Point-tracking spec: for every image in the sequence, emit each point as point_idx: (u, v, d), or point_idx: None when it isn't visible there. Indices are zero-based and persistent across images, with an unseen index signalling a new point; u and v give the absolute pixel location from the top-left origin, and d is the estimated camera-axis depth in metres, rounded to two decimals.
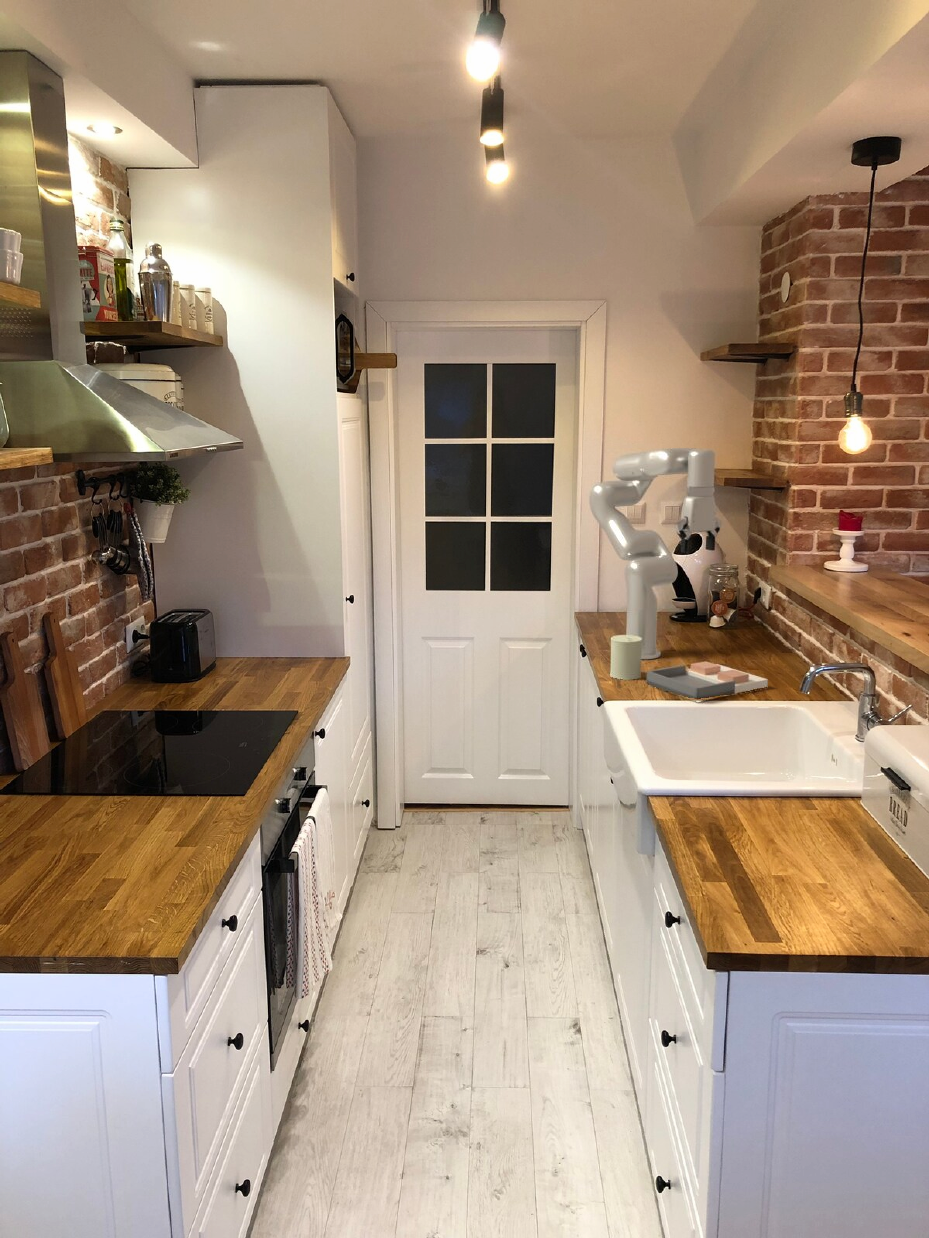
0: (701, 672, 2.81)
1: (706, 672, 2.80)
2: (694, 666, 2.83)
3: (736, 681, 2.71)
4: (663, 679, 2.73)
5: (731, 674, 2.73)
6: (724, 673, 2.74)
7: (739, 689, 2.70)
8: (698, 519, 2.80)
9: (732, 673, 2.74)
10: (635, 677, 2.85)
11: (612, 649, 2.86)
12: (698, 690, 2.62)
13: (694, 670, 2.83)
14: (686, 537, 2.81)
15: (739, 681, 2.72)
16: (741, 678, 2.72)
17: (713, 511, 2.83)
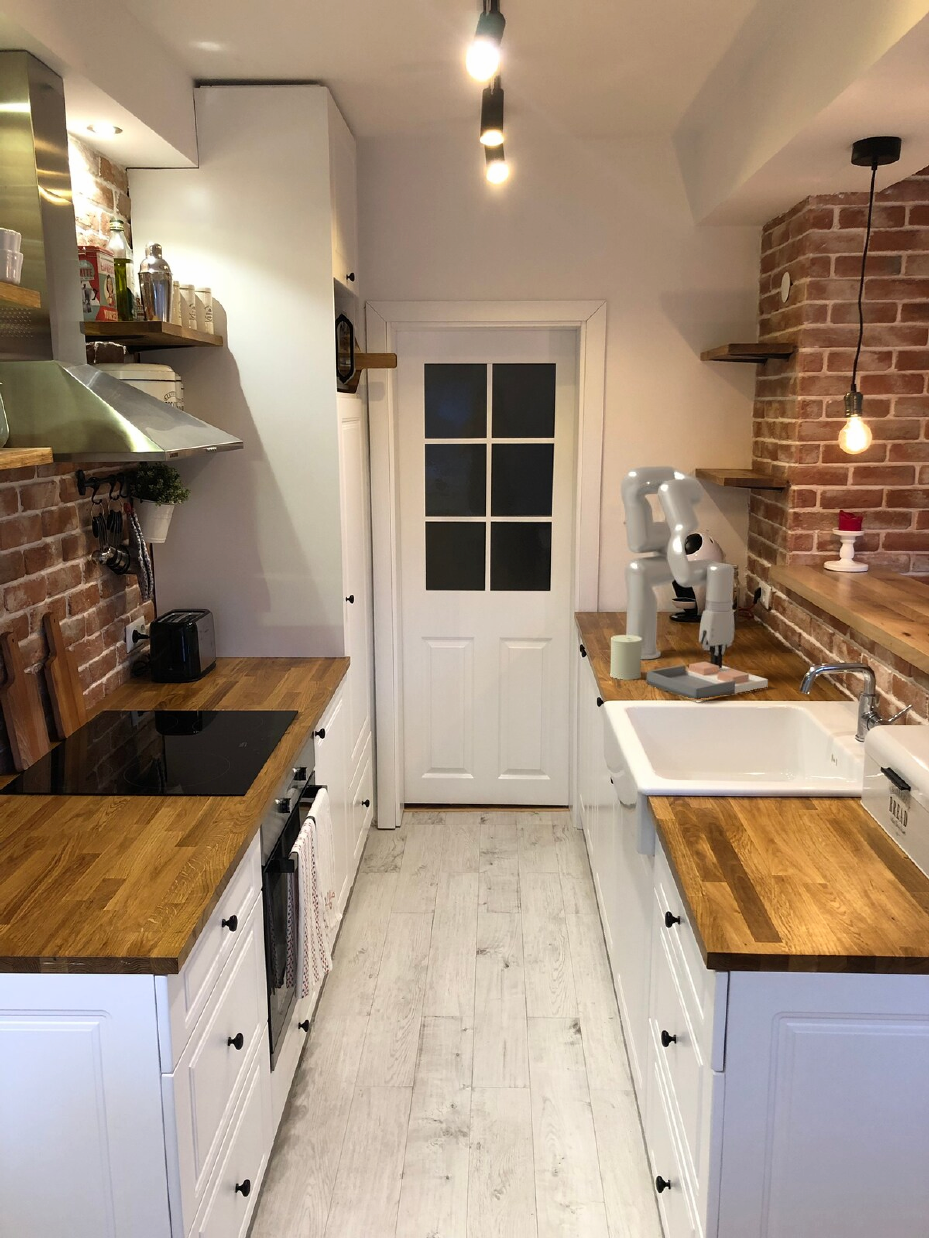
0: (700, 672, 2.81)
1: (705, 672, 2.80)
2: (693, 666, 2.83)
3: (736, 681, 2.71)
4: (663, 679, 2.73)
5: (731, 674, 2.73)
6: (724, 673, 2.74)
7: (739, 689, 2.70)
8: (717, 633, 2.80)
9: (732, 673, 2.74)
10: (635, 677, 2.85)
11: (612, 649, 2.86)
12: (698, 690, 2.62)
13: (693, 670, 2.83)
14: (715, 653, 2.83)
15: (739, 681, 2.72)
16: (741, 678, 2.72)
17: (732, 624, 2.83)
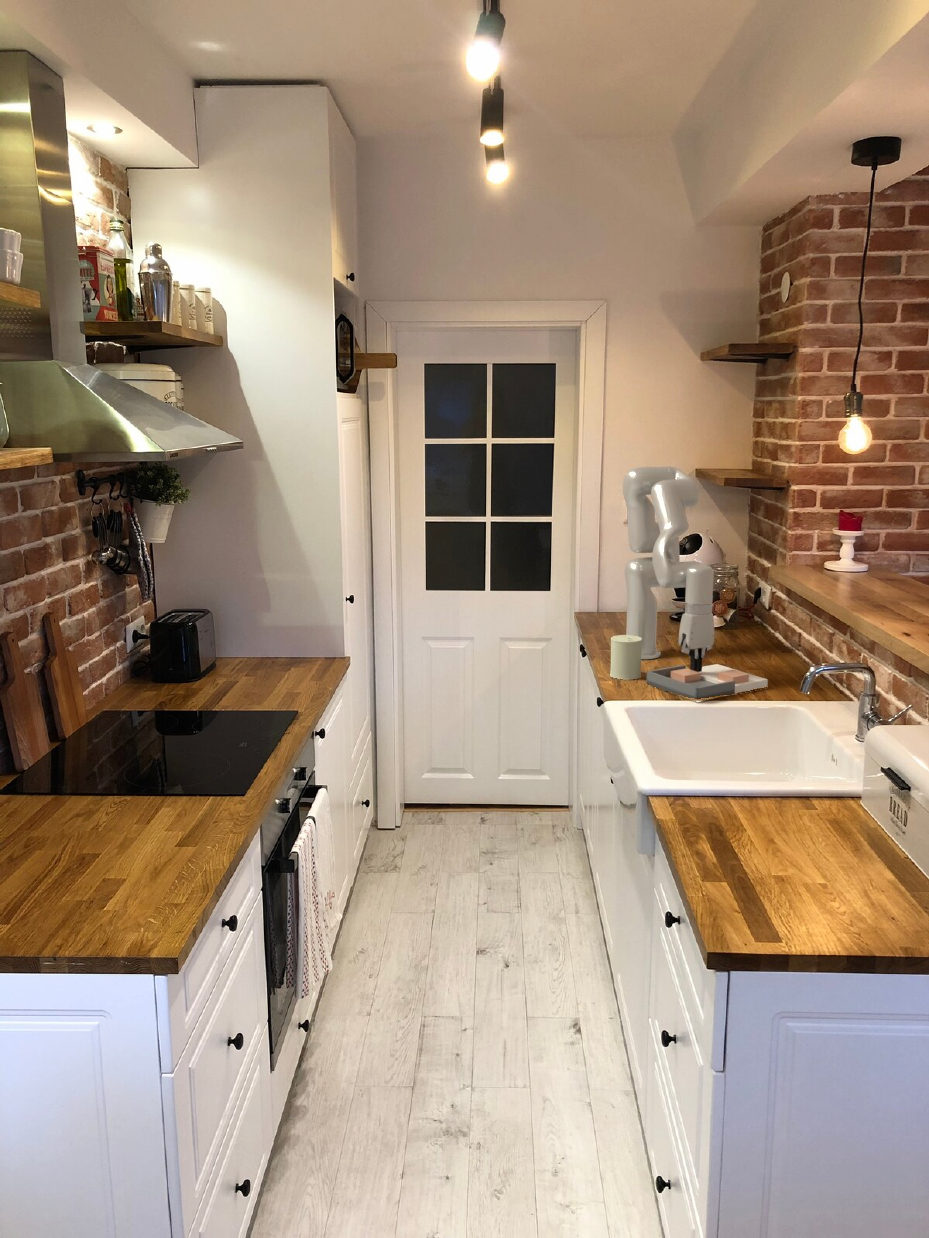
0: (681, 679, 2.77)
1: (686, 679, 2.76)
2: (674, 673, 2.79)
3: (736, 681, 2.71)
4: (663, 679, 2.73)
5: (731, 674, 2.73)
6: (724, 673, 2.74)
7: (739, 689, 2.70)
8: (696, 636, 2.76)
9: (732, 673, 2.74)
10: (635, 677, 2.85)
11: (612, 649, 2.86)
12: (698, 690, 2.62)
13: (674, 677, 2.80)
14: (695, 657, 2.79)
15: (739, 681, 2.72)
16: (741, 678, 2.72)
17: (712, 627, 2.79)
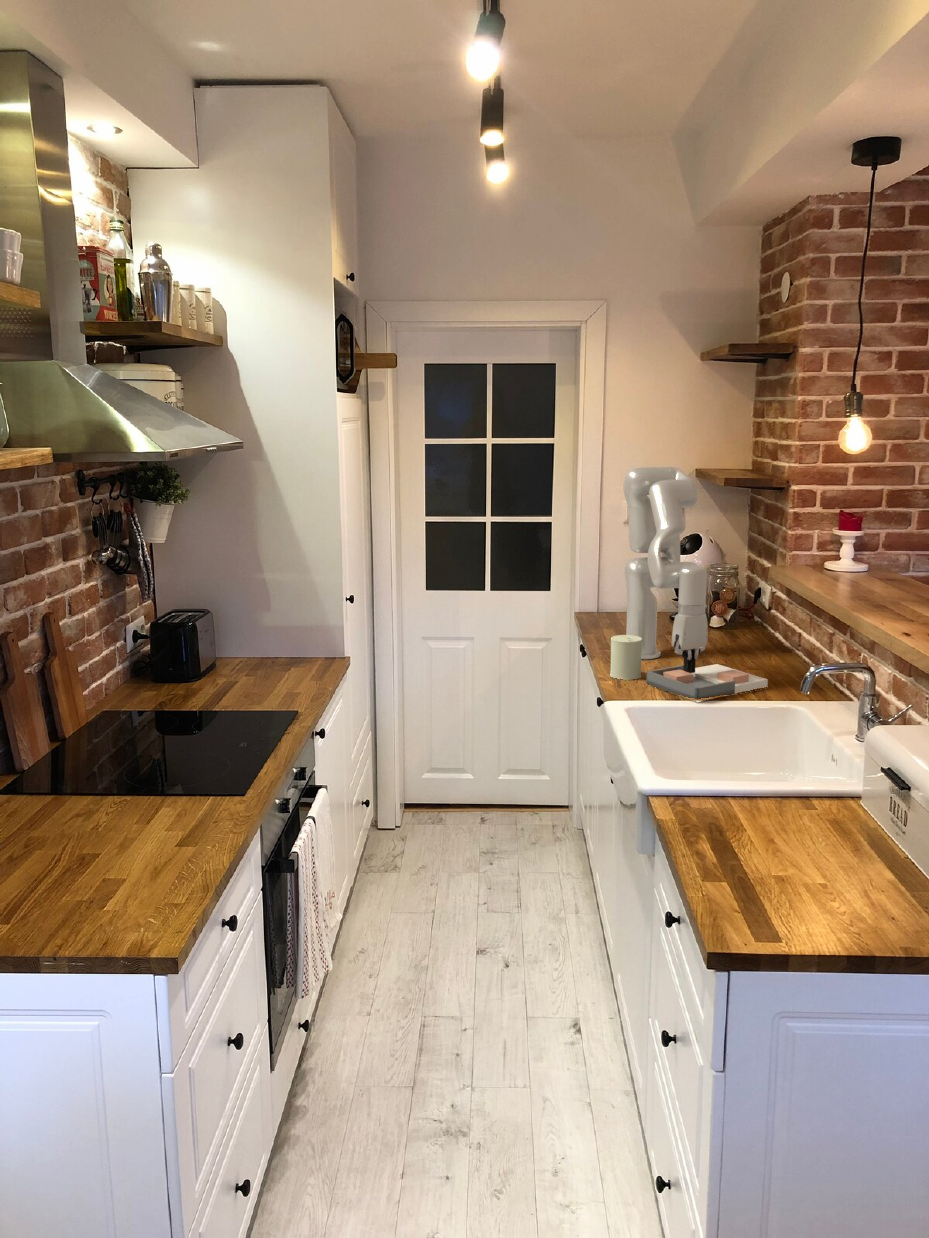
0: None
1: (678, 680, 2.75)
2: (666, 674, 2.79)
3: (736, 681, 2.71)
4: (663, 679, 2.73)
5: (731, 674, 2.73)
6: (724, 673, 2.74)
7: (739, 689, 2.70)
8: (690, 637, 2.75)
9: (732, 673, 2.74)
10: (635, 677, 2.85)
11: (612, 649, 2.86)
12: (698, 690, 2.62)
13: None
14: (688, 658, 2.78)
15: (739, 681, 2.72)
16: (741, 678, 2.72)
17: (705, 628, 2.78)
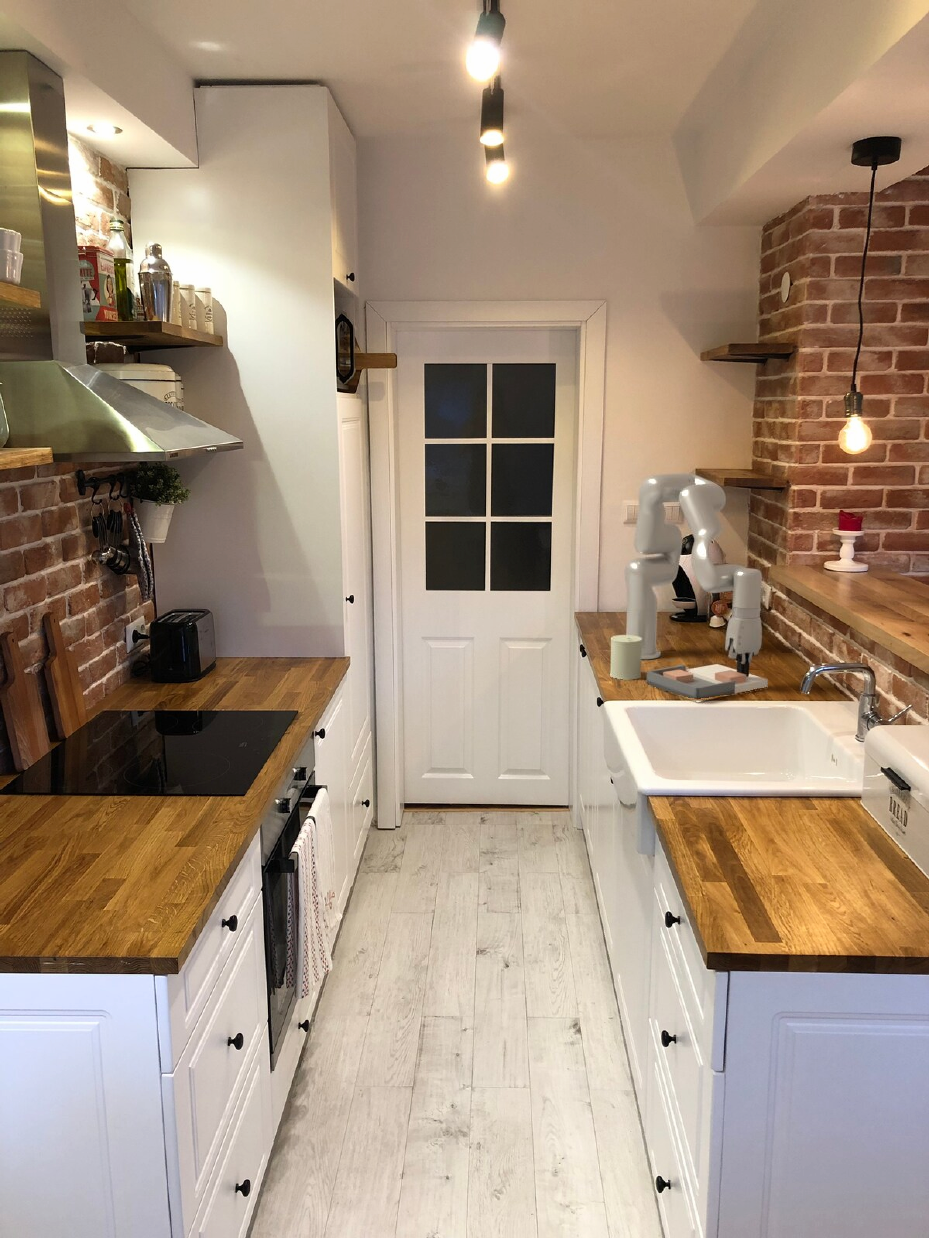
0: None
1: (677, 680, 2.75)
2: (666, 674, 2.79)
3: None
4: (663, 679, 2.73)
5: (728, 674, 2.73)
6: (721, 673, 2.74)
7: (739, 689, 2.70)
8: (744, 641, 2.71)
9: (729, 673, 2.74)
10: (635, 677, 2.85)
11: (612, 649, 2.86)
12: (698, 690, 2.62)
13: None
14: (742, 662, 2.73)
15: (736, 681, 2.71)
16: (738, 678, 2.71)
17: (760, 632, 2.73)
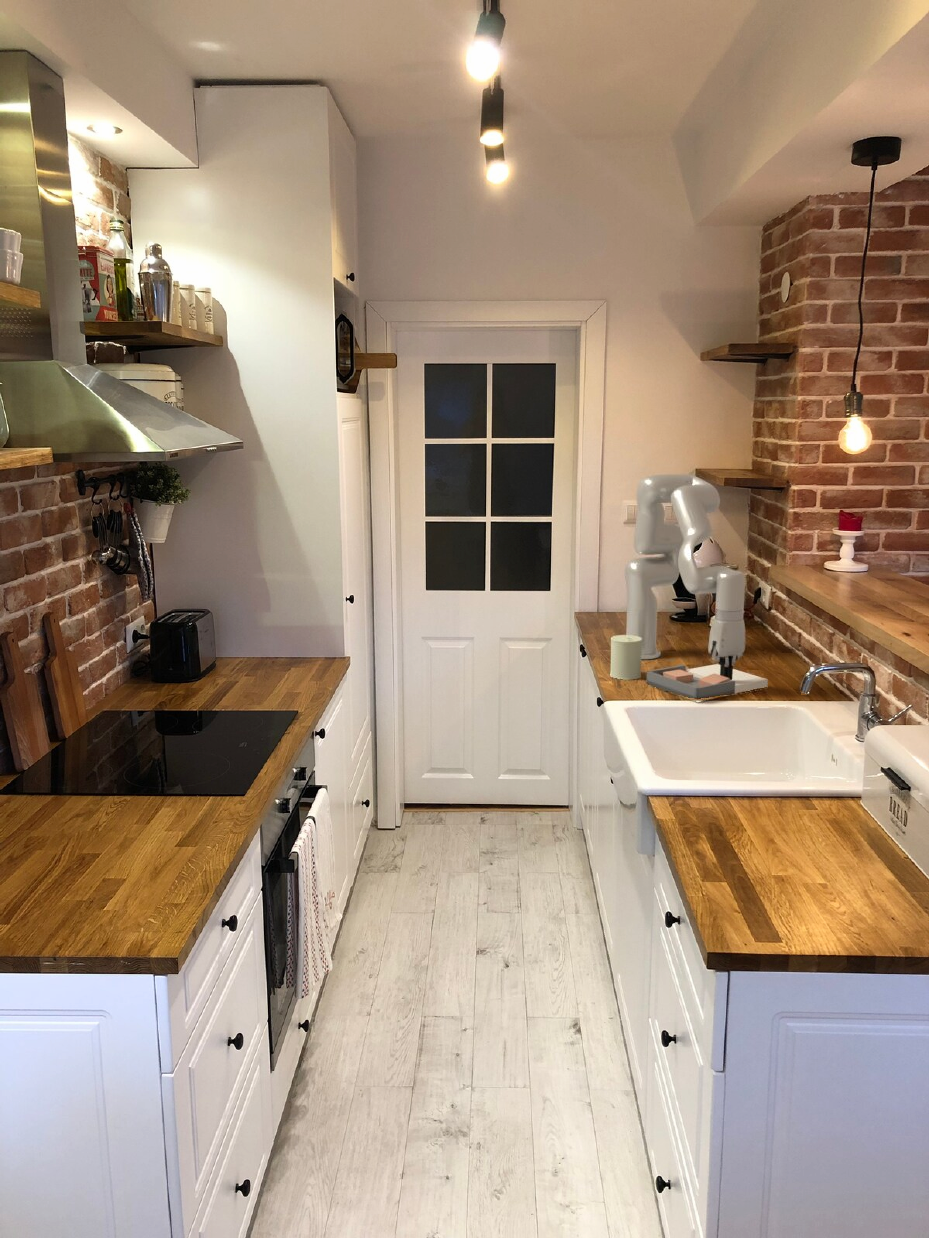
0: None
1: (677, 680, 2.75)
2: (666, 674, 2.79)
3: None
4: (663, 679, 2.73)
5: (712, 680, 2.70)
6: (705, 680, 2.71)
7: (739, 689, 2.70)
8: (727, 644, 2.68)
9: (713, 679, 2.71)
10: (635, 677, 2.85)
11: (612, 649, 2.86)
12: (698, 690, 2.62)
13: None
14: (725, 665, 2.70)
15: None
16: None
17: (743, 634, 2.70)
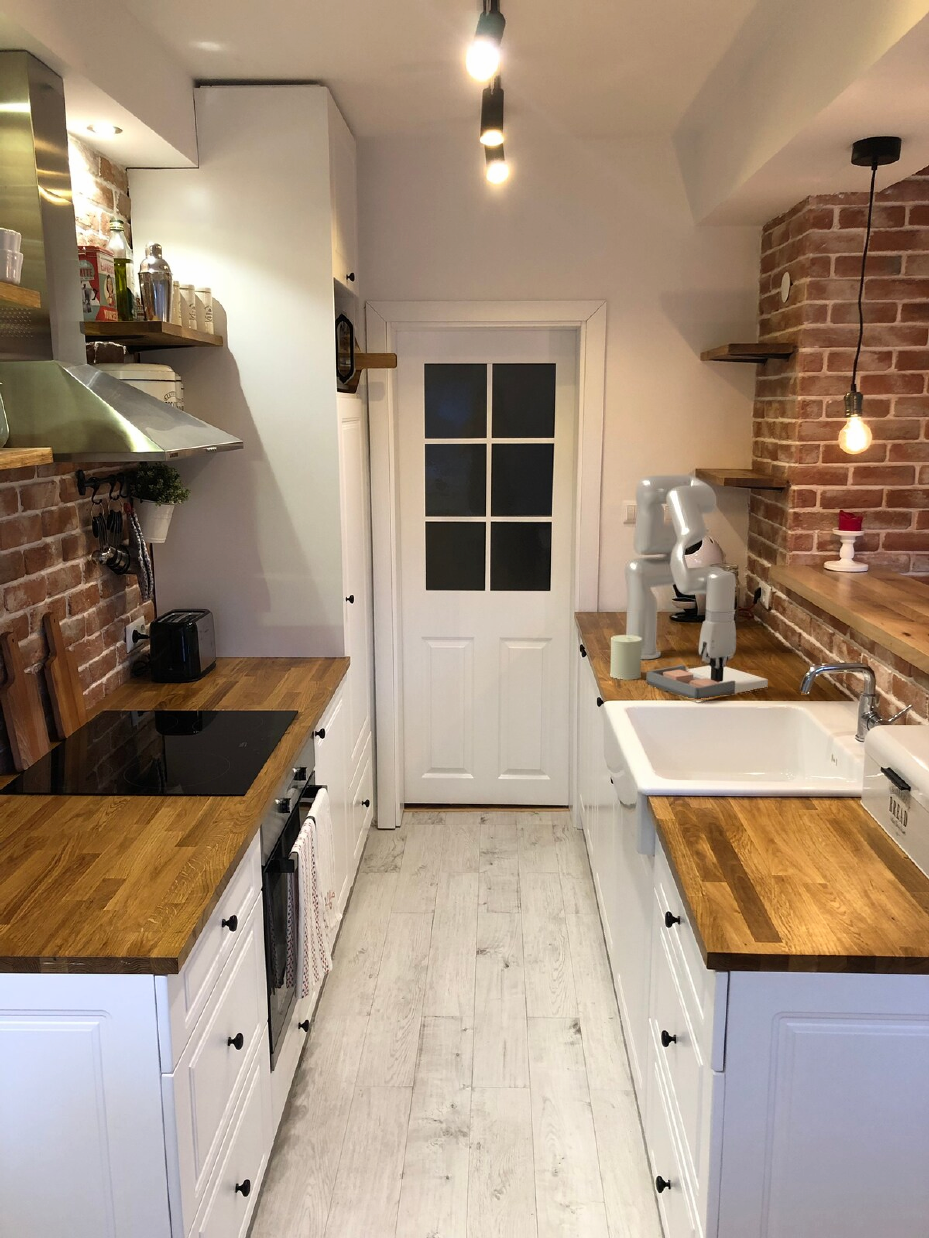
0: None
1: (677, 680, 2.75)
2: (666, 674, 2.79)
3: None
4: (663, 679, 2.73)
5: (703, 683, 2.68)
6: (696, 681, 2.70)
7: (739, 689, 2.70)
8: (718, 645, 2.66)
9: (704, 682, 2.69)
10: (635, 677, 2.85)
11: (612, 649, 2.86)
12: (698, 690, 2.62)
13: None
14: (716, 666, 2.68)
15: None
16: None
17: (734, 636, 2.68)
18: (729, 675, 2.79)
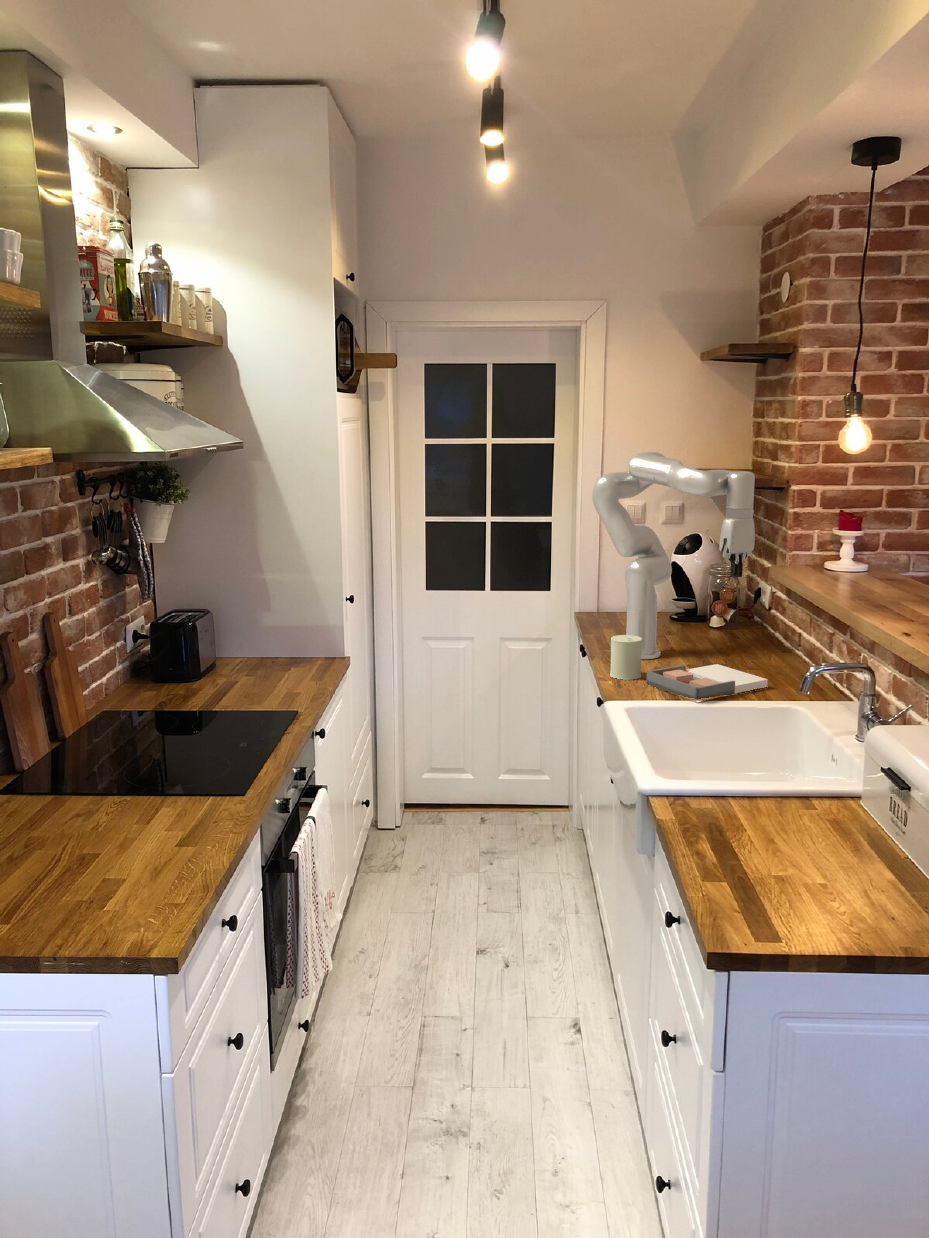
0: None
1: (677, 680, 2.75)
2: (666, 674, 2.79)
3: None
4: (663, 679, 2.73)
5: (703, 683, 2.68)
6: (696, 681, 2.70)
7: (739, 689, 2.70)
8: (737, 541, 2.81)
9: (704, 682, 2.69)
10: (635, 677, 2.85)
11: (612, 649, 2.86)
12: (698, 690, 2.62)
13: None
14: (736, 562, 2.84)
15: None
16: None
17: (753, 533, 2.84)
18: (729, 675, 2.79)
